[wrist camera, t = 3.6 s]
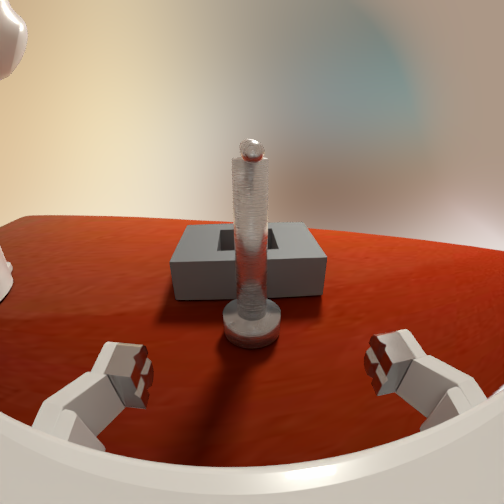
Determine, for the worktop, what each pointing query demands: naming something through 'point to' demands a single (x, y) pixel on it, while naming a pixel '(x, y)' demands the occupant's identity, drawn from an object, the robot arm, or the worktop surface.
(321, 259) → the grey block with hole
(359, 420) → the worktop surface
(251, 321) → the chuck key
